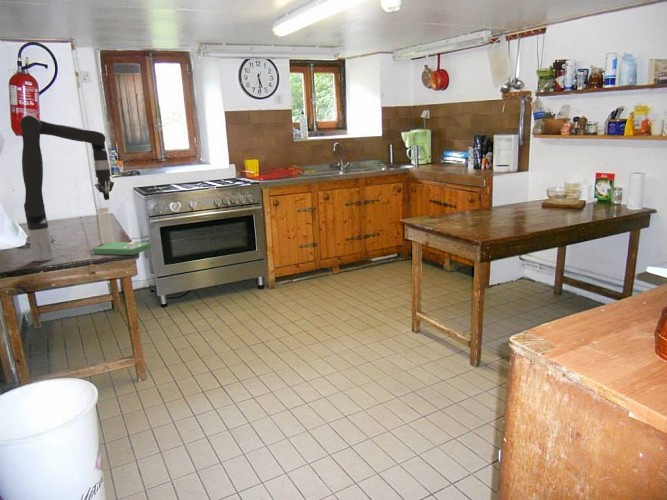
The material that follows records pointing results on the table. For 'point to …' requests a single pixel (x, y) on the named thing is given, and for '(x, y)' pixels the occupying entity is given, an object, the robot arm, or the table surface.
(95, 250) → the green
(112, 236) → the milk
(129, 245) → the ball
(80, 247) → the table surface
